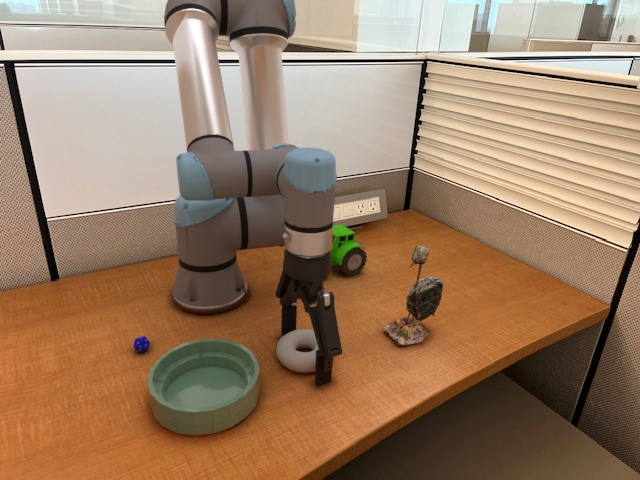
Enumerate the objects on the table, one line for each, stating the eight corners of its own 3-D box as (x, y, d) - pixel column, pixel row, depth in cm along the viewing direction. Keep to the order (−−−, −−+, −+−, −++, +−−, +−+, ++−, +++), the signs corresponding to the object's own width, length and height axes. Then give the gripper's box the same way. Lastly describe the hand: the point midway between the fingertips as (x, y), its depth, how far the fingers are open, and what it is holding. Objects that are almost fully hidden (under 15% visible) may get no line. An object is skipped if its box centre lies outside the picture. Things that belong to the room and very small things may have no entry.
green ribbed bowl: (142, 379, 78) (139, 354, 76) (239, 352, 85) (238, 329, 83) (163, 454, 65) (159, 427, 63) (275, 415, 72) (275, 389, 70)
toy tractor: (288, 267, 115) (289, 229, 110) (343, 252, 123) (346, 216, 119) (313, 287, 106) (315, 247, 102) (370, 270, 115) (374, 232, 110)
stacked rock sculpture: (448, 340, 91) (465, 245, 82) (394, 350, 87) (406, 252, 79) (426, 316, 98) (440, 226, 89) (375, 325, 94) (385, 232, 86)
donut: (312, 385, 78) (343, 352, 86) (313, 369, 77) (343, 337, 84) (264, 362, 83) (297, 333, 91) (263, 347, 81) (297, 318, 89)
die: (143, 357, 83) (131, 346, 82) (140, 354, 85) (127, 343, 84) (155, 345, 84) (143, 334, 83) (151, 342, 86) (139, 331, 85)
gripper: (256, 224, 84) (258, 325, 92) (324, 290, 64) (318, 412, 72) (295, 218, 87) (294, 316, 96) (371, 279, 67) (360, 397, 76)
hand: (304, 358), depth 84 cm, fingers open, 13 cm apart
